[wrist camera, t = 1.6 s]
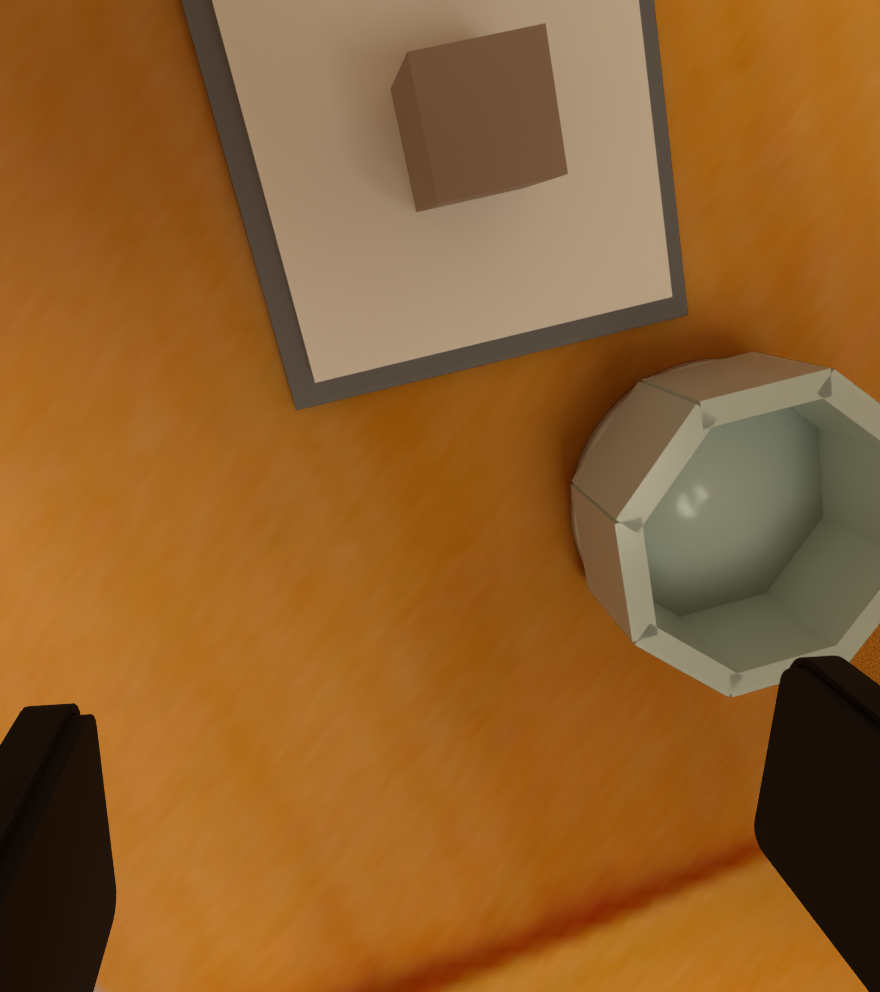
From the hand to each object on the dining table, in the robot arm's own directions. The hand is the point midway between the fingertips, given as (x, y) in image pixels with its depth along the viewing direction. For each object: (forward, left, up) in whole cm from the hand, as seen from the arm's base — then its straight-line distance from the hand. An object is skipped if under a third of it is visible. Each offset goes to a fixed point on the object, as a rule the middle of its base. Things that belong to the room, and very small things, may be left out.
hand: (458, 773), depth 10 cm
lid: (-6, -9, -21) cm, 24 cm away
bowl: (-14, +7, -22) cm, 27 cm away
